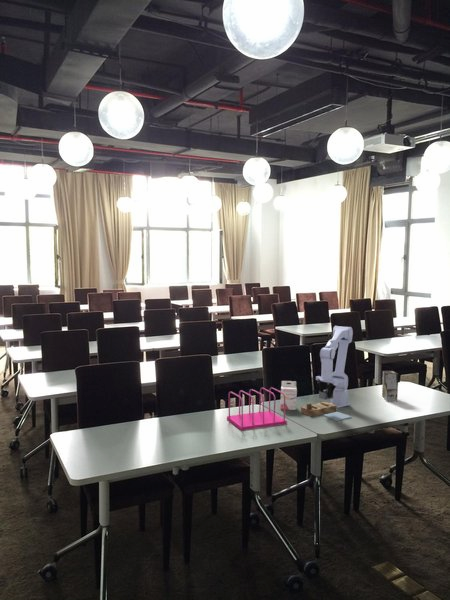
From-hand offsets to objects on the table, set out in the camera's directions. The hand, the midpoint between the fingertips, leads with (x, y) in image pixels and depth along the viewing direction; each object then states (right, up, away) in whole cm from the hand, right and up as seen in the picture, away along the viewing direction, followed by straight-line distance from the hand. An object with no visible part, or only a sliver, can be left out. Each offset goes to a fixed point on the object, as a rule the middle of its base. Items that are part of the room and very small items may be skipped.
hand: (326, 396), depth 263 cm
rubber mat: (+5, -10, -4) cm, 12 cm away
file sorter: (-37, -11, -12) cm, 41 cm away
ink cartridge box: (-19, -9, +10) cm, 23 cm away
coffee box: (+42, -8, +28) cm, 51 cm away
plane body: (-3, -9, +4) cm, 11 cm away
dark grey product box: (0, -1, 0) cm, 1 cm away
